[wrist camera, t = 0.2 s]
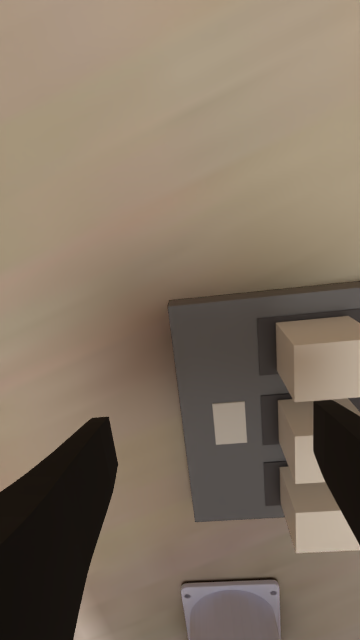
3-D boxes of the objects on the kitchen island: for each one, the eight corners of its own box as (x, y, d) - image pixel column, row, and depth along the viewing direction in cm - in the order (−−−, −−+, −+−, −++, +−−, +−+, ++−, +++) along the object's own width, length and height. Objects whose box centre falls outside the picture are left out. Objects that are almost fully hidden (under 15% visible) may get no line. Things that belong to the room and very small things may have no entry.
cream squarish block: (346, 364, 19) (378, 395, 16) (277, 370, 19) (294, 402, 16) (348, 315, 18) (383, 337, 15) (275, 322, 19) (293, 345, 15)
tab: (343, 436, 21) (372, 479, 17) (278, 441, 21) (295, 483, 18) (345, 394, 20) (376, 430, 16) (277, 400, 20) (294, 436, 17)
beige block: (340, 499, 22) (367, 549, 19) (280, 503, 22) (296, 553, 19) (342, 462, 21) (370, 508, 18) (279, 467, 21) (295, 513, 18)
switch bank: (473, 488, 23) (492, 507, 22) (195, 504, 25) (195, 523, 23) (515, 265, 19) (543, 269, 17) (169, 300, 20) (167, 307, 19)
